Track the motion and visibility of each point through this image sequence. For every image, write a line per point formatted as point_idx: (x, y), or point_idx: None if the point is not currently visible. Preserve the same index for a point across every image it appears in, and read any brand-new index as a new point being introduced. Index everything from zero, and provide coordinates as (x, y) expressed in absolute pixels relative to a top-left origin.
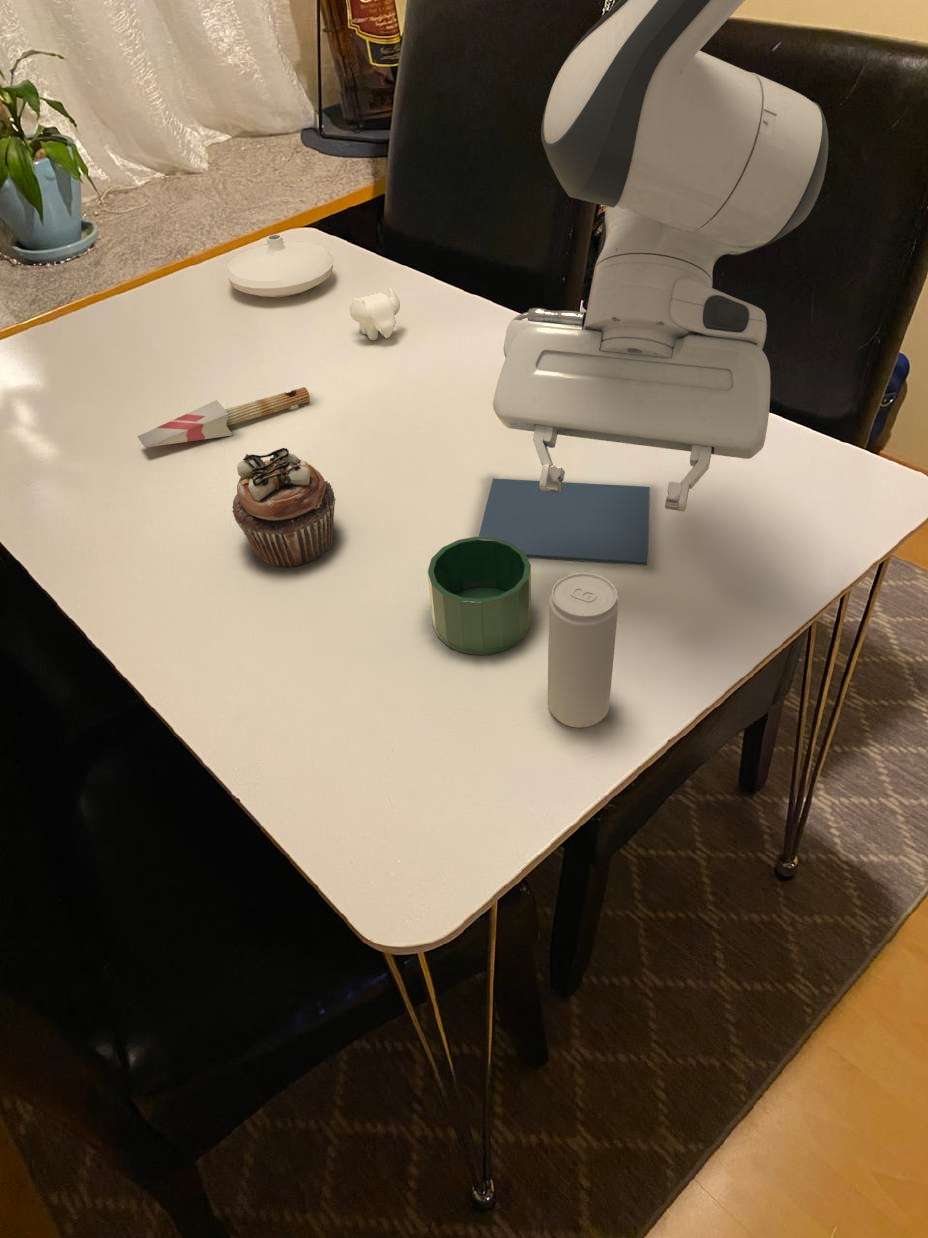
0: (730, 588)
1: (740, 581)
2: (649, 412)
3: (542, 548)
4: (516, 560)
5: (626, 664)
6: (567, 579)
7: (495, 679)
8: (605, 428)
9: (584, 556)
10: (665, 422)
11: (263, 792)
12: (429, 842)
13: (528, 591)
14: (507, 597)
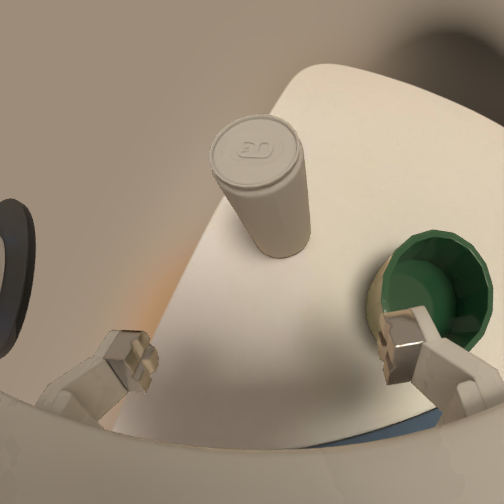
0: (182, 435)
1: None
2: (111, 495)
3: (390, 437)
4: None
5: (254, 303)
6: (287, 167)
7: (367, 236)
8: (279, 453)
9: (340, 444)
10: (75, 457)
11: (438, 101)
12: (332, 100)
13: (376, 304)
14: (390, 258)
